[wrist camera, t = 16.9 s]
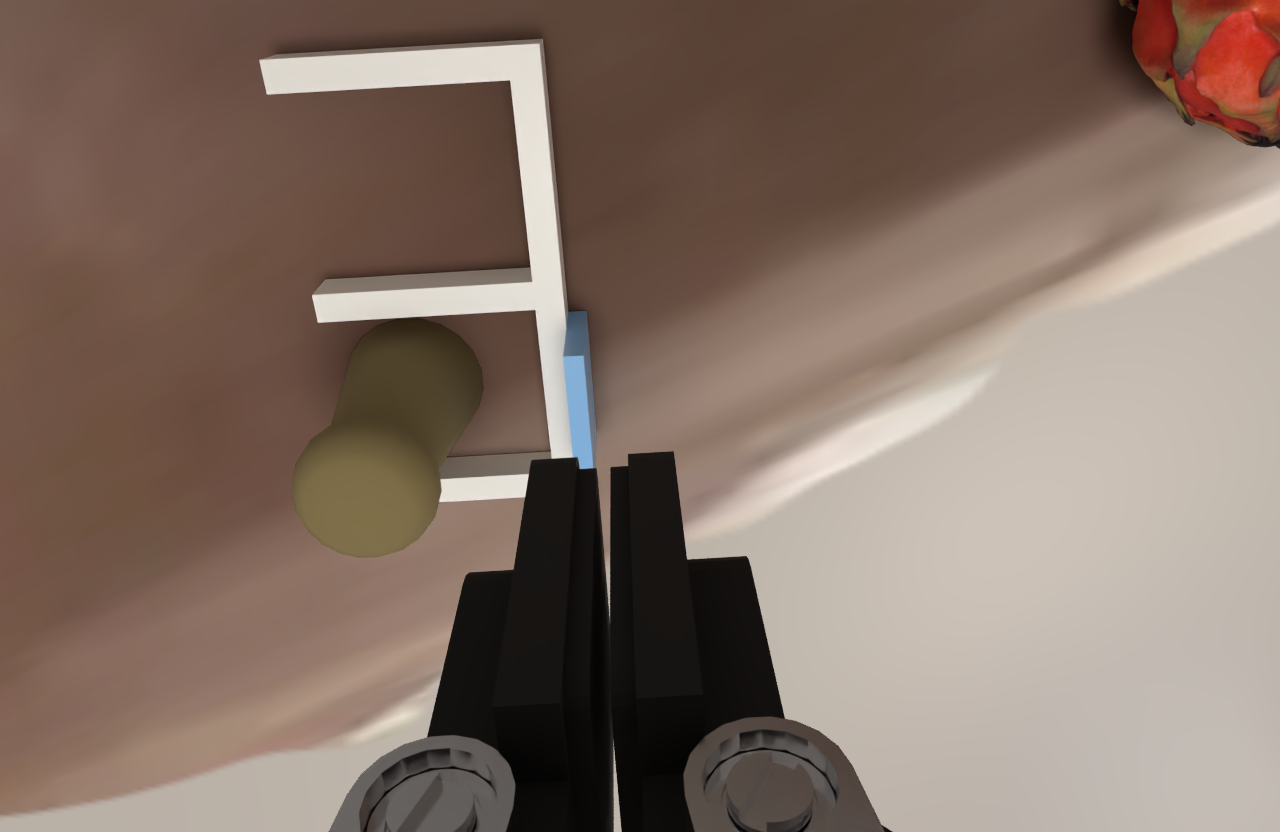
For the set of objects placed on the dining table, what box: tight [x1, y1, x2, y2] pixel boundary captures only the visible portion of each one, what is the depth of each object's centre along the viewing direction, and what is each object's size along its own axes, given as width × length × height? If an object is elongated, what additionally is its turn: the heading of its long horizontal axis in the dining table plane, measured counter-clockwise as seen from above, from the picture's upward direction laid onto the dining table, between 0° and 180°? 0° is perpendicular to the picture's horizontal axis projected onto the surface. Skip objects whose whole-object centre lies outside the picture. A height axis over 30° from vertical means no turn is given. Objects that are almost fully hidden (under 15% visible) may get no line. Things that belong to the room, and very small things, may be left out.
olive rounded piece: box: [291, 319, 483, 558], centre depth 37 cm, size 6×6×11 cm
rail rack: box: [259, 39, 597, 502], centre depth 38 cm, size 19×11×5 cm, turn 3°
